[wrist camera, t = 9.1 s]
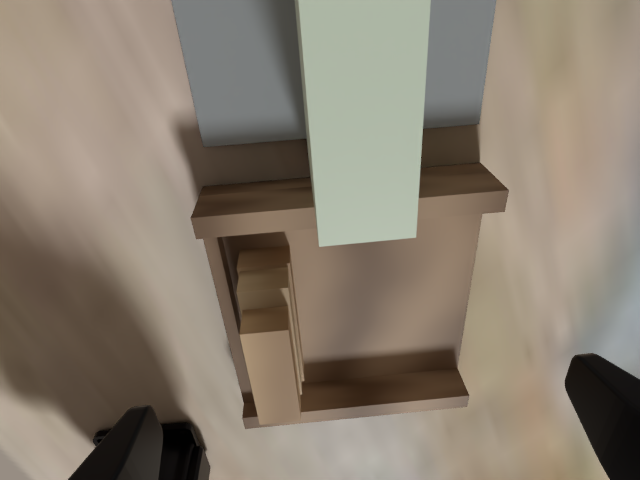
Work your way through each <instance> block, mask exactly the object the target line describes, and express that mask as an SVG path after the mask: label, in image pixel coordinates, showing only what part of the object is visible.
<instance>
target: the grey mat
mask: <svg viewBox="0 0 640 480" xmlns="http://www.w3.org/2000/svg"><path fill="white" fill-rule="evenodd" d="M171 1H172V5H173V10H174V14H175V19H176V23H177V28H178V33H179V37H180V42H181V46H182V51H183V56H184V60H185V65H186V69H187V74H188V79H189V83H190V88H191V92H192V97H193V102H194V106H195V111H196V115H197V120H198V124H199V129H200V134H201V138H202V143H203V147H211V146H223V145H235V144H247V143H259V142H271V141H282V140H294V139H306V138H307V136H306V124H305V113H304V102H303V90H302V79H301V68H300V56H299V45H298V33H297V22H296V11H295V0H171ZM495 6H496V0H431V5H430V21H429V37H428V53H427V70H426V86H425V102H424V118H423V129H426V128H438V127H450V126H462V125H474V124H479V121H480V114H481V107H482V99H483V92H484V85H485V78H486V71H487V63H488V56H489V49H490V42H491V34H492V27H493V20H494V13H495Z"/></svg>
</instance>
